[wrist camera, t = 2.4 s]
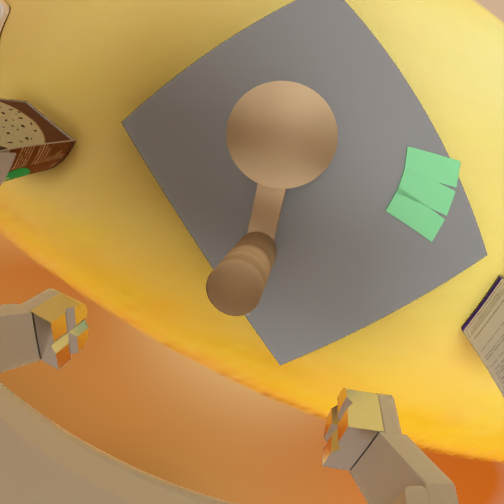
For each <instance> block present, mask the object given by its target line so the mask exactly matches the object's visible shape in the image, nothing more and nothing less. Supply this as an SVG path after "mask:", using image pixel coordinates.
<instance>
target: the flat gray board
mask: <svg viewBox="0 0 504 504" xmlns="http://www.w3.org/2000/svg"><path fill="white" fill-rule="evenodd" d="M272 81H291V82H296V83H299V84H302V85H304V86H307V87H309V88H310V89H312V90H314V91H315V92H316V93H318V94H319V95H320V96H321V97H322V98H323V99H324V100H325V101H326V103H327V104H328V105H329V107H330V109H331V110H332V112H333V114H334V117H335V120H336V124H337V130H338V141H337V147H336V151H335V154H334V156H333V158H332V160H331V162H330V164H329V165H328V167H327V168H326V169H325V170H324V171H323V172H322V173H321V174H320V175H319V176H318V177H317V178H315V179H314V180H312V181H311V182H309V183H307V184H305V185H302V186H299V187H295V188H289V189H286V193H285V197H284V201H283V206H282V210H281V214H280V218H279V223H278V227H277V231H276V235H275V240H274V242H275V245H276V248H277V256H276V259H275V262H274V264H273V267H272V270H271V272H270V275H269V277H268V280H267V283H266V285H265V288H264V291H263V293H262V296H261V298H260V301H259V303H258V305H257V306H256V308H255V309H254V310H252V311H251V312H250V314H249V315H246V314H245V316H246V318H247V319H248V321H249V322H250V324H251V325H252V326H253V328H254V329H255V331H256V332H257V334H258V335H259V336H260V338H261V339H262V341H263V342H264V343H265V345H266V346H267V348H268V349H269V350H270V352H271V353H272V355H273V356H274V357H275V359H276V360H277V362H278V363H279V364H280V365H282V364H285V363H287V362H289V361H292V360H294V359H296V358H299V357H301V356H303V355H306V354H308V353H310V352H313V351H315V350H317V349H319V348H322V347H324V346H326V345H328V344H330V343H332V342H335V341H337V340H339V339H341V338H343V337H345V336H347V335H349V334H351V333H353V332H355V331H357V330H359V329H361V328H363V327H365V326H367V325H369V324H371V323H373V322H375V321H377V320H379V319H381V318H383V317H385V316H387V315H389V314H391V313H392V312H394V311H396V310H398V309H400V308H402V307H403V306H405V305H407V304H409V303H411V302H412V301H414V300H416V299H418V298H420V297H421V296H423V295H425V294H426V293H428V292H430V291H432V290H433V289H435V288H437V287H438V286H440V285H442V284H443V283H445V282H447V281H448V280H450V279H451V278H453V277H455V276H456V275H458V274H459V273H461V272H463V271H464V270H466V269H467V268H469V267H470V266H472V265H473V264H475V263H476V262H478V261H479V260H481V259H482V258H484V257H485V256H487V252H486V249H485V246H484V243H483V239H482V236H481V233H480V230H479V228H478V225H477V222H476V219H475V216H474V214H473V211H472V208H471V206H470V203H469V201H468V198H467V196H466V193H465V191H464V188H463V186H462V184H461V181H460V179H459V177H458V175H459V169H460V161H458V160H454V159H451V158H450V157H449V155H448V153H447V151H446V149H445V147H444V145H443V143H442V141H441V139H440V137H439V135H438V134H437V132H436V130H435V128H434V126H433V124H432V122H431V121H430V119H429V117H428V115H427V114H426V112H425V110H424V108H423V107H422V105H421V103H420V102H419V100H418V98H417V97H416V95H415V94H414V92H413V90H412V89H411V87H410V86H409V84H408V82H407V81H406V79H405V78H404V76H403V75H402V73H401V72H400V70H399V69H398V68H397V66H396V65H395V63H394V62H393V60H392V59H391V58H390V56H389V55H388V53H387V52H386V51H385V49H384V48H383V47H382V45H381V44H380V43H379V41H378V40H377V39H376V37H375V36H374V35H373V34H372V32H371V31H370V30H369V29H368V27H367V26H366V25H365V24H364V23H363V21H362V20H361V19H360V18H359V17H358V15H357V14H356V13H355V12H354V11H353V10H352V8H351V7H350V6H349V5H348V4H347V3H346V2H345V1H344V0H296V1H294V2H292V3H290V4H288V5H286V6H284V7H282V8H280V9H278V10H277V11H275V12H273V13H271V14H269V15H267V16H266V17H264V18H262V19H260V20H259V21H257V22H255V23H253V24H252V25H250V26H248V27H247V28H245V29H243V30H242V31H240V32H239V33H237V34H235V35H234V36H232V37H231V38H229V39H228V40H226V41H225V42H223V43H221V44H220V45H218V46H217V47H215V48H214V49H213V50H211V51H210V52H208V53H207V54H205V55H204V56H202V57H201V58H200V59H198V60H197V61H195V62H194V63H193V64H191V65H190V66H189V67H187V68H186V69H185V70H183V71H182V72H181V73H179V74H178V75H177V76H175V77H174V78H173V79H172V80H170V81H169V82H168V83H166V84H165V85H164V86H163V87H162V88H160V89H159V90H158V91H157V92H155V93H154V94H153V95H152V96H151V97H149V98H148V99H147V100H146V101H145V102H144V103H142V104H141V105H140V106H139V107H138V108H137V109H136V110H134V111H133V112H132V113H131V114H130V115H129V116H128V117H127V118H126V119H124V120H123V121H122V122H121V123H122V125H123V127H124V128H125V130H126V132H127V133H128V135H129V137H130V138H131V140H132V142H133V143H134V145H135V147H136V148H137V150H138V152H139V153H140V155H141V157H142V158H143V160H144V161H145V163H146V165H147V166H148V168H149V170H150V171H151V173H152V174H153V176H154V178H155V179H156V181H157V183H158V184H159V186H160V187H161V189H162V191H163V192H164V194H165V195H166V197H167V198H168V200H169V202H170V203H171V205H172V206H173V208H174V210H175V211H176V213H177V214H178V216H179V217H180V219H181V220H182V222H183V224H184V225H185V227H186V228H187V230H188V231H189V233H190V234H191V236H192V237H193V239H194V241H195V242H196V244H197V245H198V247H199V248H200V250H201V251H202V253H203V254H204V256H205V257H206V259H207V260H208V262H209V263H210V265H211V266H212V268H213V269H215V268H216V267H217V266H218V264H219V263H220V262H221V261H222V260H223V259H224V258H225V256H226V255H227V254H228V253H229V252H230V251H231V250H232V249H233V247H234V246H235V245H236V244H237V243H238V242H239V241H240V239H241V238H242V237H243V236H244V235H246V234H247V232H248V227H249V223H250V218H251V213H252V209H253V204H254V199H255V195H256V190H257V185H258V183H256V182H254V181H253V180H251V179H250V178H248V177H247V176H246V175H245V174H244V173H243V172H242V171H241V170H240V169H239V168H238V167H237V165H236V164H235V163H234V161H233V159H232V157H231V155H230V152H229V149H228V145H227V139H226V129H227V123H228V119H229V116H230V114H231V111H232V109H233V108H234V106H235V104H236V103H237V102H238V101H239V99H240V98H241V97H242V96H243V95H244V94H245V93H247V92H248V91H250V90H251V89H253V88H255V87H256V86H259V85H261V84H264V83H267V82H272Z"/></svg>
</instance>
